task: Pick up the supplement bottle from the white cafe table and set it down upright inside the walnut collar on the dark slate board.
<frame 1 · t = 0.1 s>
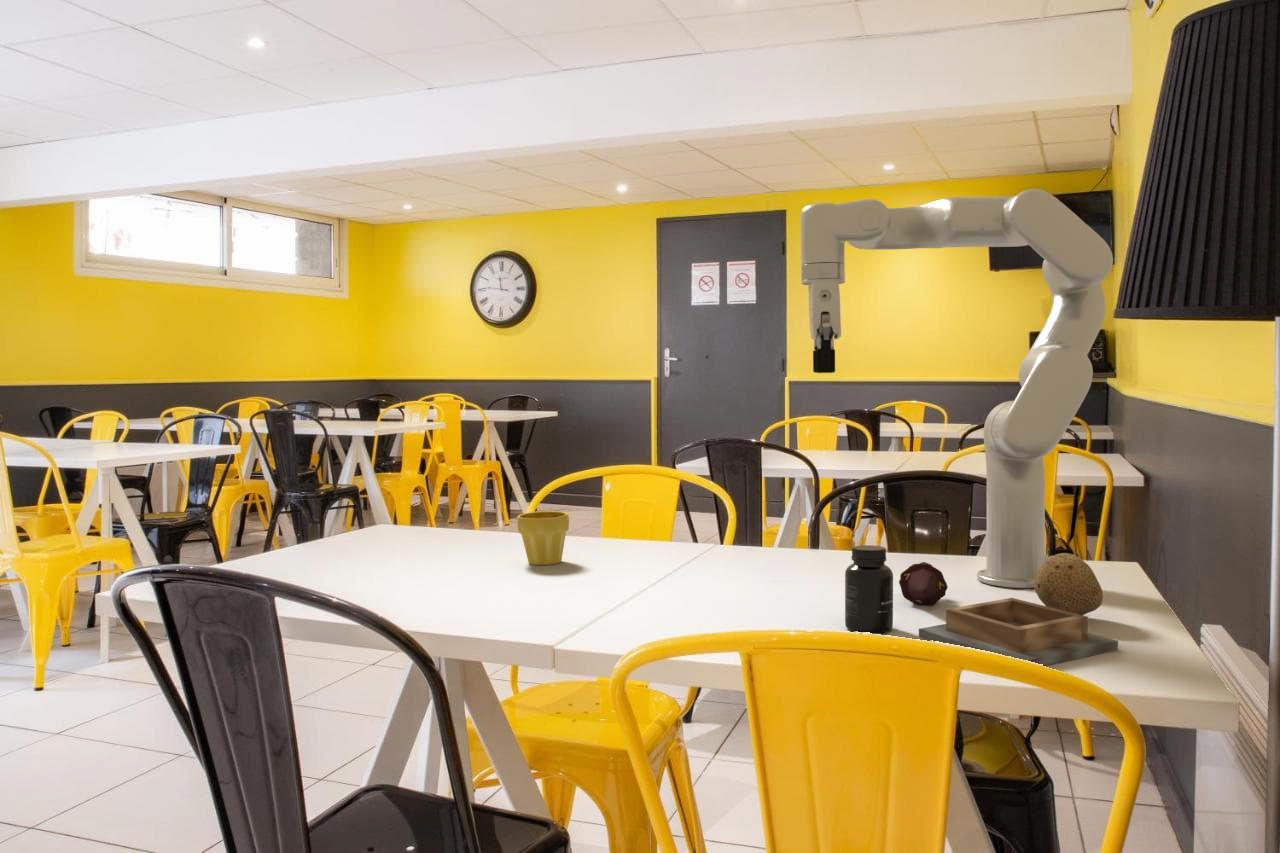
hand: (823, 372, 173), 37 cm above the table, tool pointing down, fingers open, 9 cm apart
plant pot: (544, 563, 197), on the table
supplement bottle: (869, 630, 142), on the table
icecream: (923, 605, 156), on the table
collar board: (1015, 643, 134), on the table
natural sponge: (1065, 620, 145), on the table
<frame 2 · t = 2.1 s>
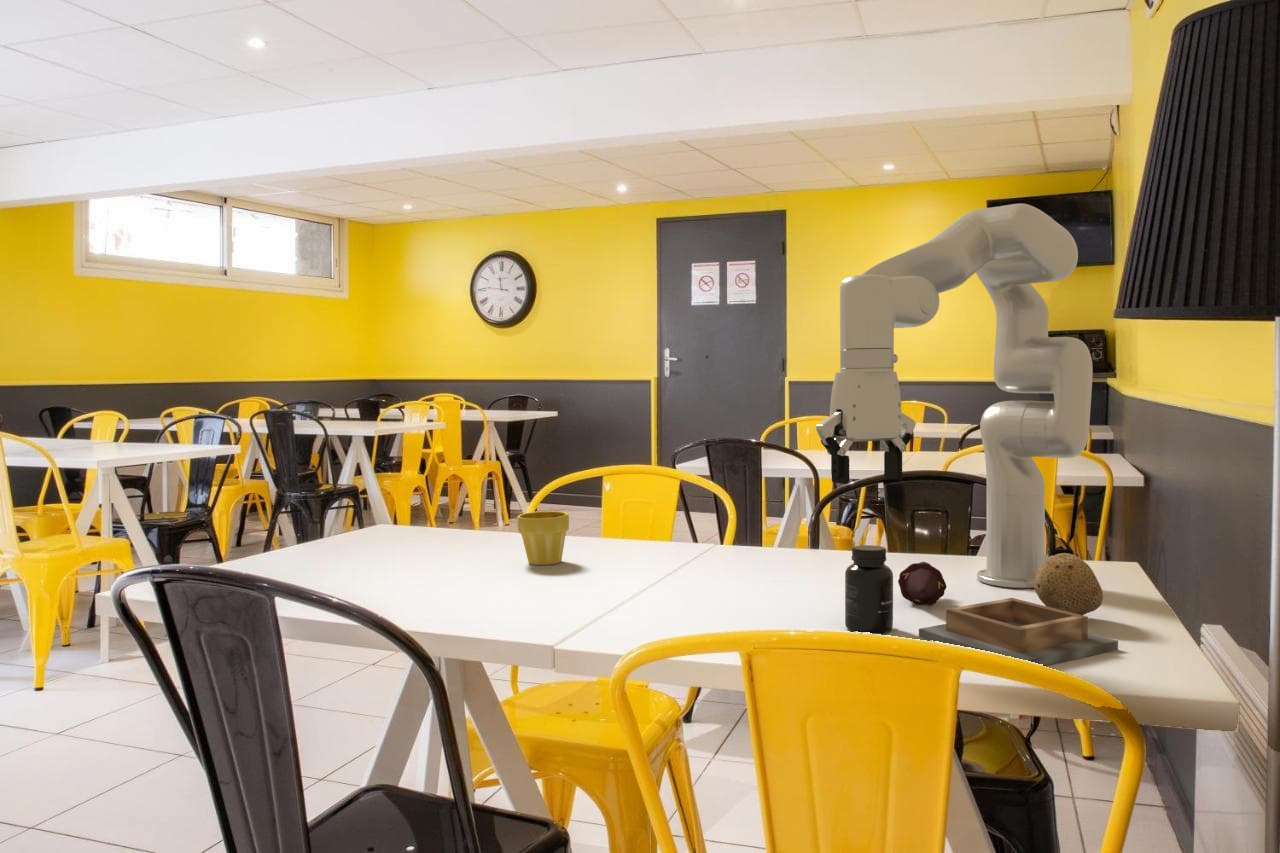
hand: (867, 480, 141), 22 cm above the table, tool pointing down, fingers open, 9 cm apart
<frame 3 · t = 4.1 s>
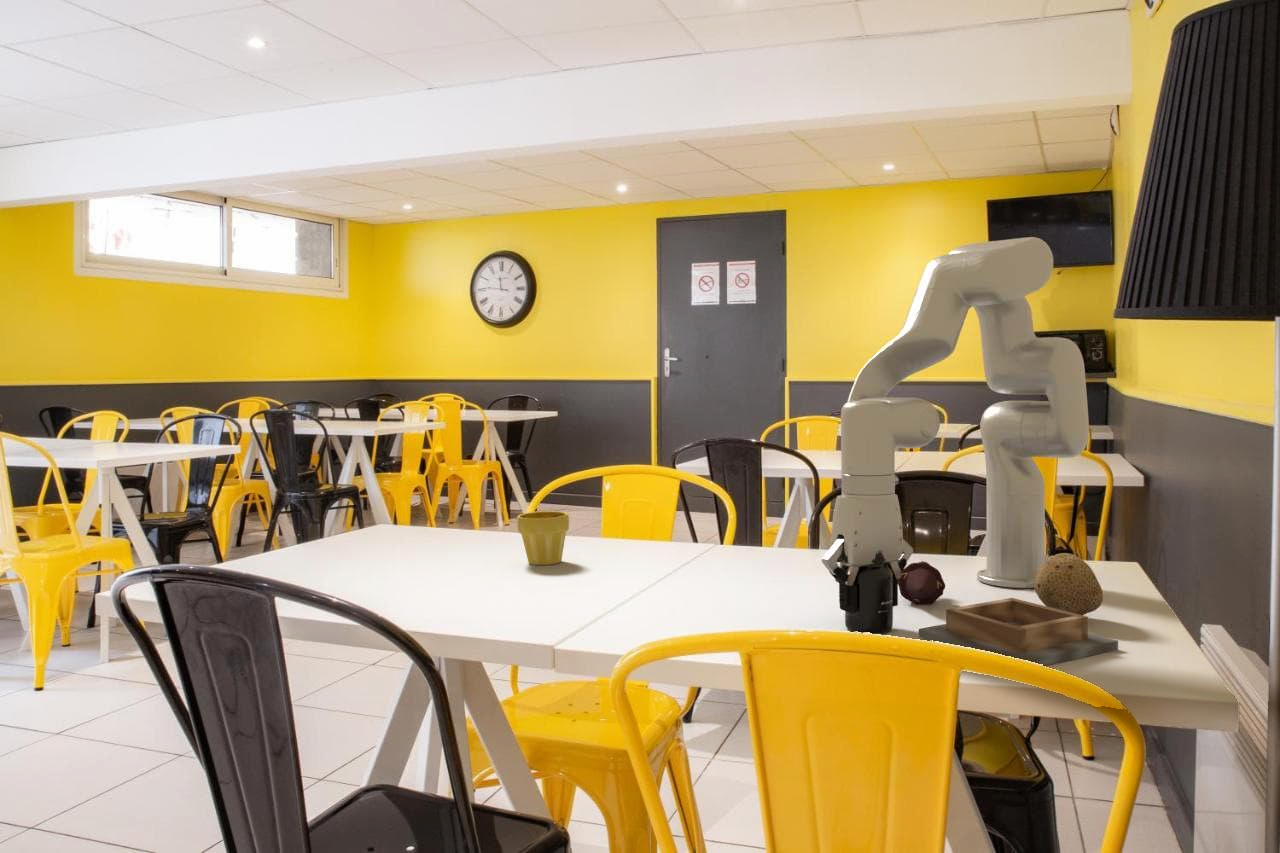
hand: (868, 606, 142), 3 cm above the table, tool pointing down, fingers closed on supplement bottle, 6 cm apart
supplement bottle: (869, 630, 142), on the table, touching gripper
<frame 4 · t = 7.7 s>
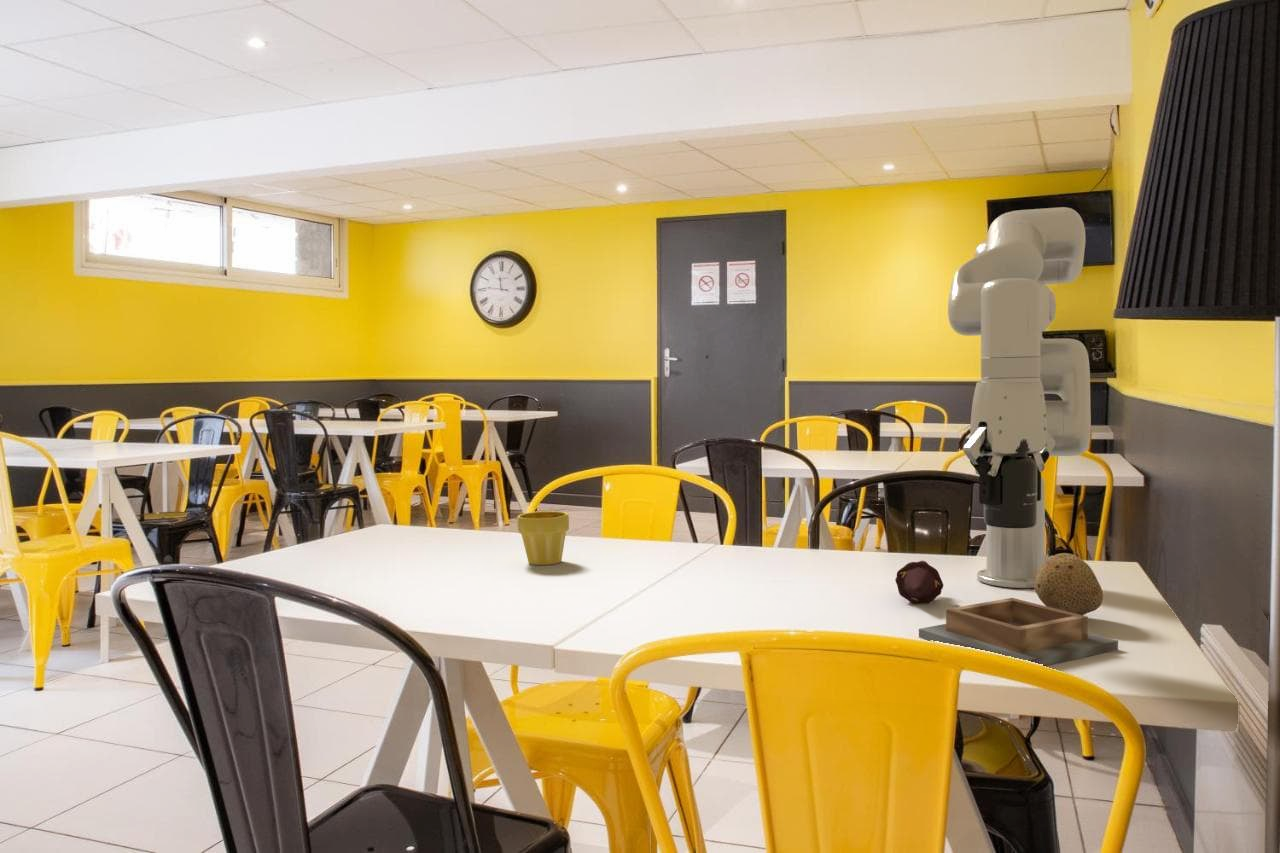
hand: (1010, 501, 133), 20 cm above the table, tool pointing down, fingers closed on supplement bottle, 6 cm apart
supplement bottle: (1010, 526, 133), point 16 cm above the table, touching gripper
when the fingers open (6 cm above the table, at t = 11.4 s): supplement bottle drops 1 cm, resting on collar board.
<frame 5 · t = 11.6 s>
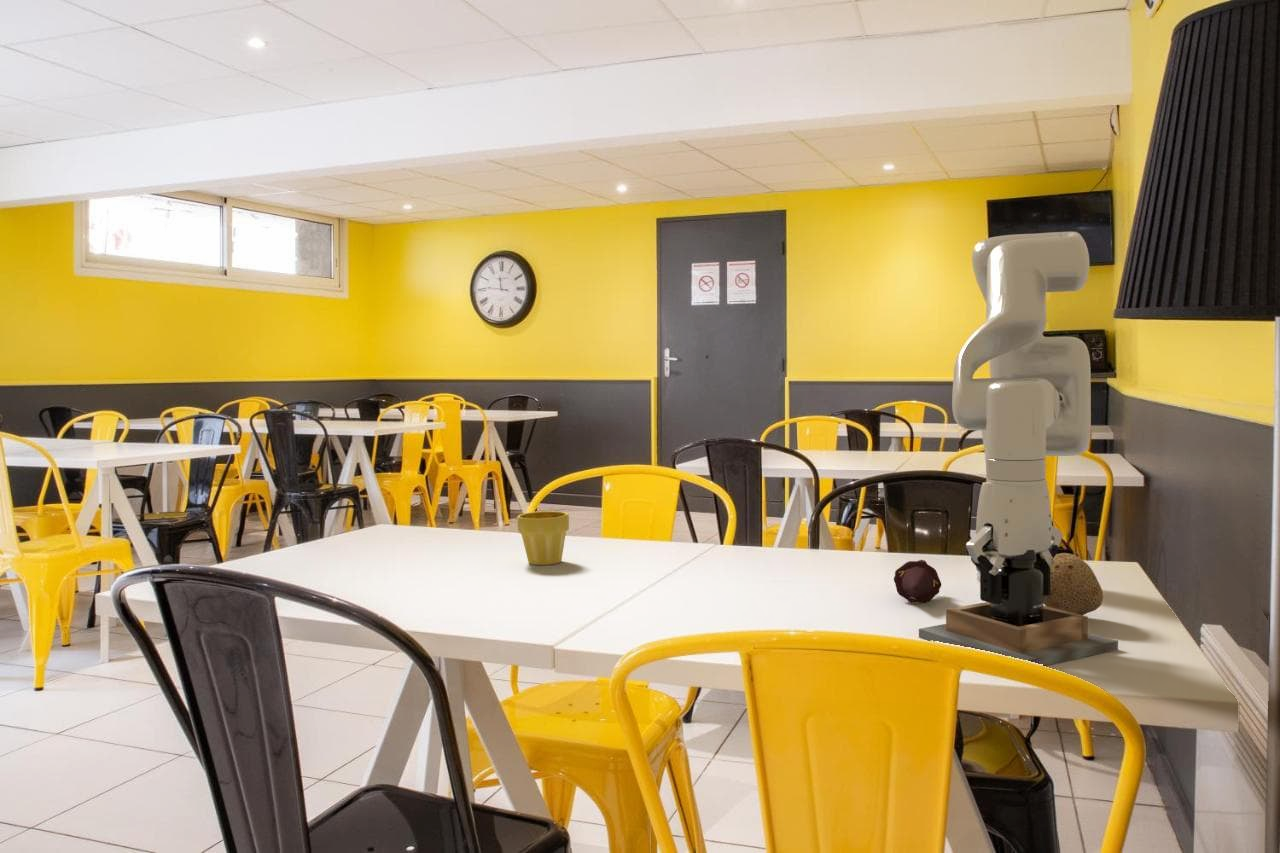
hand: (1015, 597, 133), 6 cm above the table, tool pointing down, fingers open, 8 cm apart
supplement bottle: (1016, 635, 134), point 1 cm above the table, touching collar board
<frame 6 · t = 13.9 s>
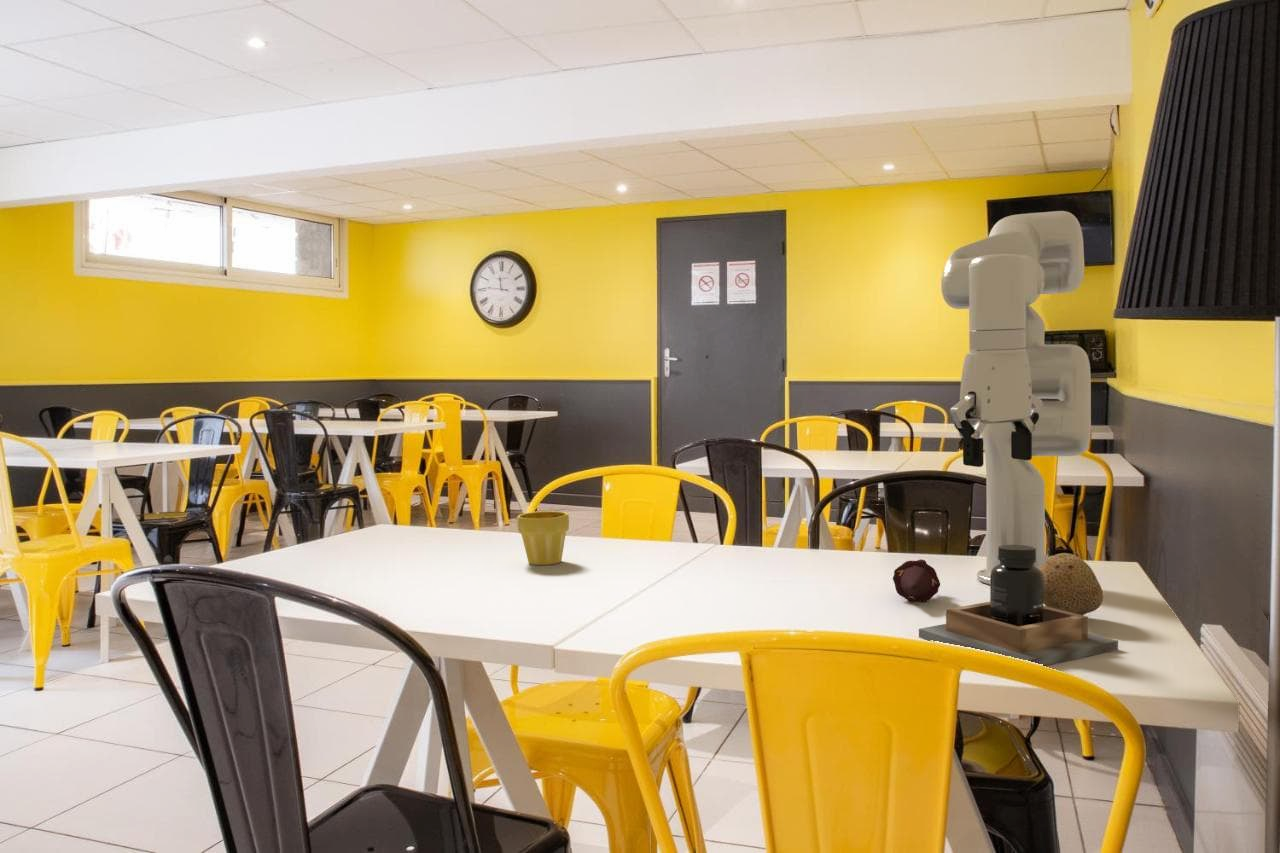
hand: (997, 462, 140), 24 cm above the table, tool pointing down, fingers open, 9 cm apart
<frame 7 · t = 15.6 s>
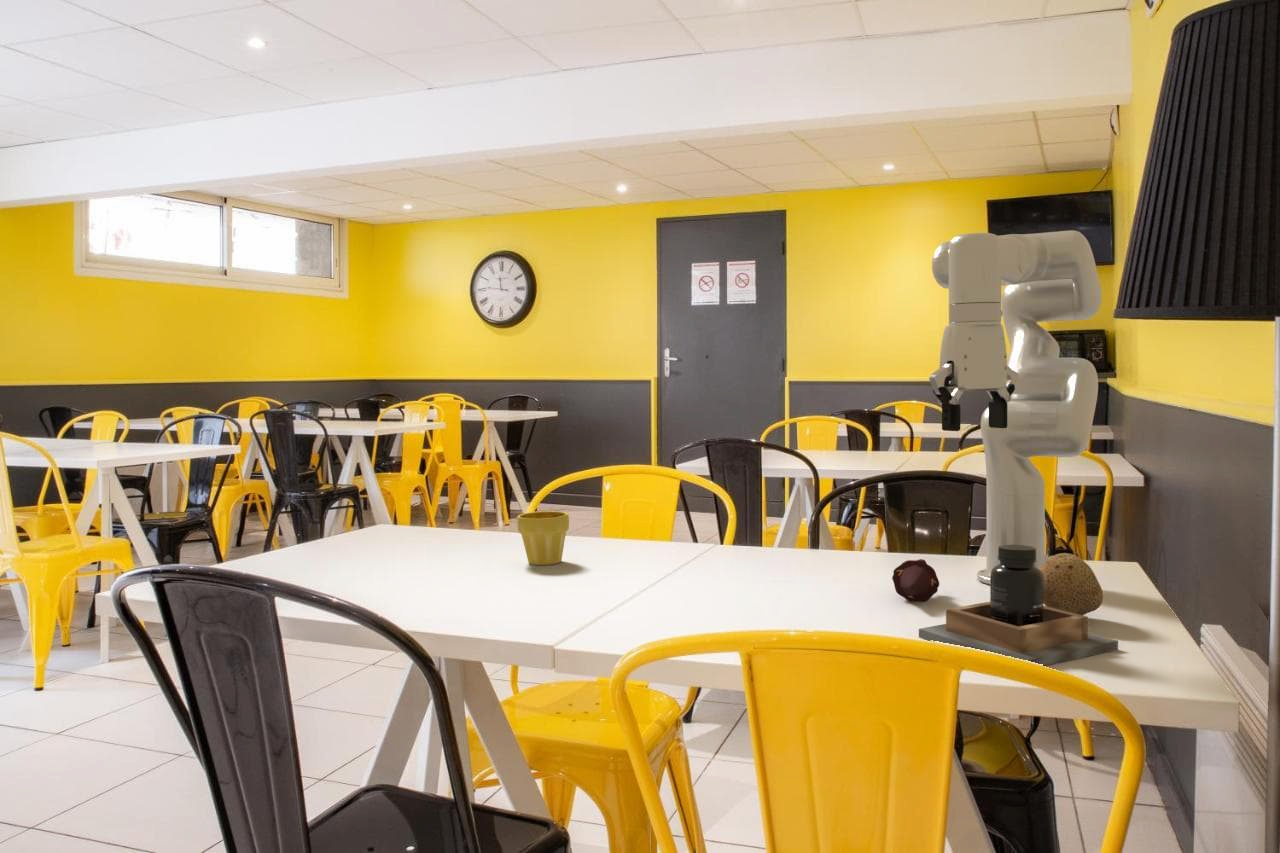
hand: (974, 429, 149), 28 cm above the table, tool pointing down, fingers open, 9 cm apart
at the end: supplement bottle 0.3 cm off-centre on the collar board, point 1.0 cm above the collar board's base; supplement bottle tilted 0°; the gripper is holding nothing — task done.
